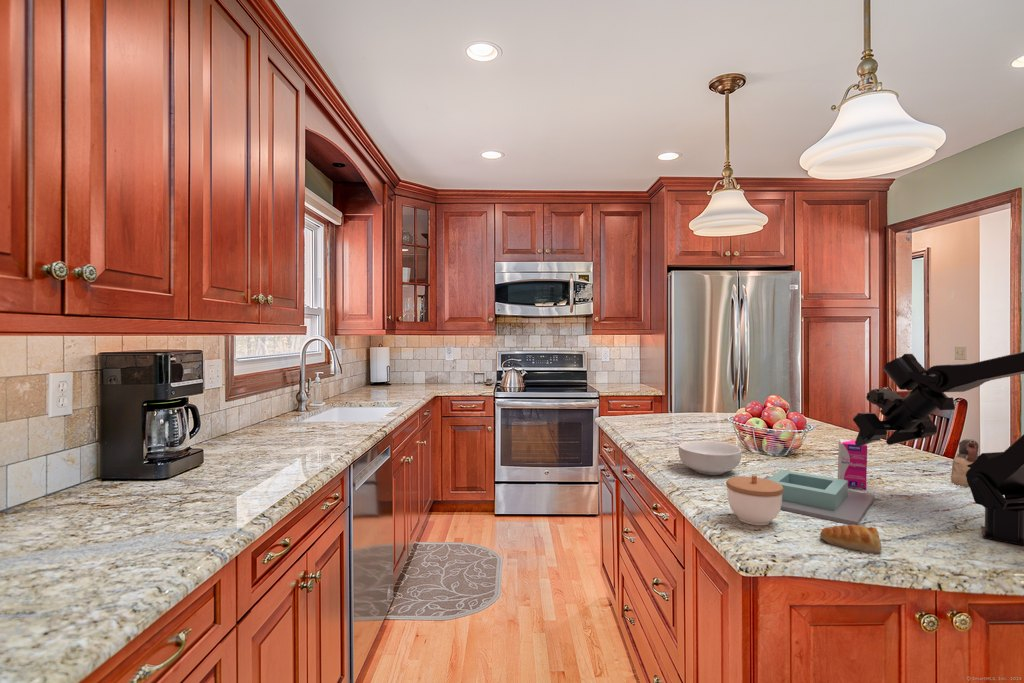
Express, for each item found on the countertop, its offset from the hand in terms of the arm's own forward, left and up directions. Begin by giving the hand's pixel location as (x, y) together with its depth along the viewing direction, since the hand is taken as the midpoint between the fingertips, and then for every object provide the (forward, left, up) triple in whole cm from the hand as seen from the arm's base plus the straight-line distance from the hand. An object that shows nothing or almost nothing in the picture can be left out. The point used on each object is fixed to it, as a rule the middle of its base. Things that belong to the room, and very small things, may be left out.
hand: (872, 444), depth 127 cm
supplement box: (+4, +4, -12) cm, 13 cm away
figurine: (+24, -19, -12) cm, 33 cm away
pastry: (-40, -1, -12) cm, 42 cm away
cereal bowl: (-6, +37, -12) cm, 40 cm away
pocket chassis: (-16, +11, -12) cm, 23 cm away
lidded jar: (-39, +17, -12) cm, 44 cm away
